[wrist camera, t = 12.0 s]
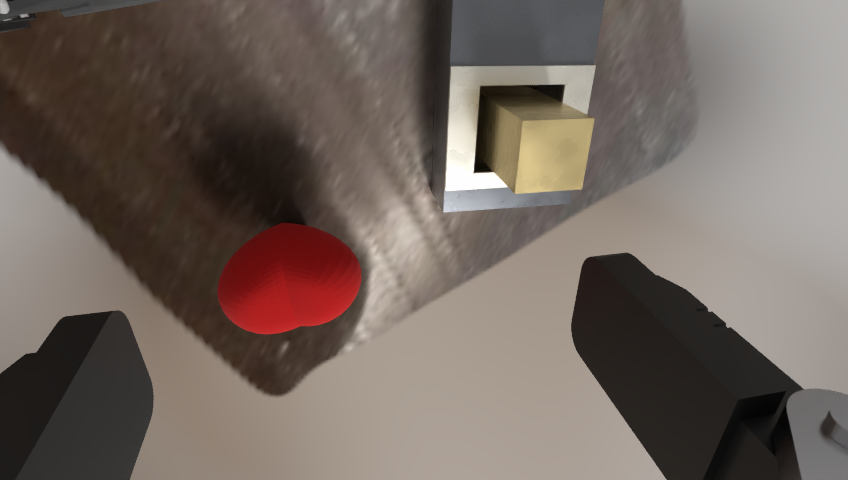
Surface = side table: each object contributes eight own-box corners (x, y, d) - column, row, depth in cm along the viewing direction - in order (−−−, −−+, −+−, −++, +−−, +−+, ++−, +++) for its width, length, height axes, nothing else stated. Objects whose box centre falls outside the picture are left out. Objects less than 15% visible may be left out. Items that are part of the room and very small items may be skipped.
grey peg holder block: (443, -198, 28) (464, -226, 24) (602, -183, 30) (644, -206, 26) (431, 191, 39) (444, 214, 35) (546, 184, 41) (570, 205, 37)
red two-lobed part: (345, 184, 37) (356, 245, 29) (359, 261, 41) (373, 337, 32) (219, 205, 36) (192, 276, 27) (246, 283, 39) (228, 368, 31)
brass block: (471, 87, 36) (523, 120, 27) (527, 85, 37) (594, 118, 28) (467, 145, 38) (514, 193, 29) (520, 142, 39) (581, 189, 30)
